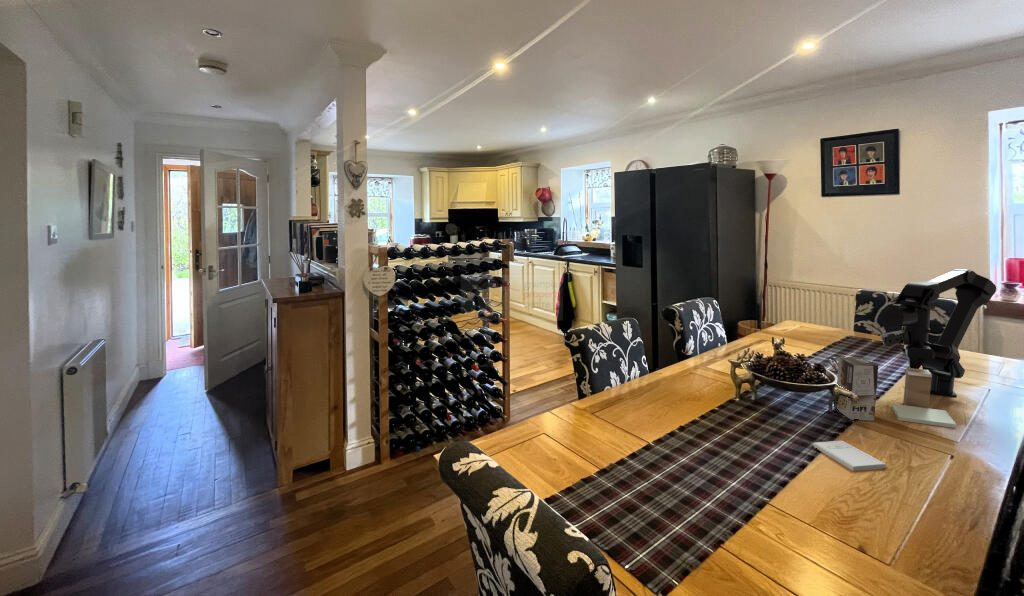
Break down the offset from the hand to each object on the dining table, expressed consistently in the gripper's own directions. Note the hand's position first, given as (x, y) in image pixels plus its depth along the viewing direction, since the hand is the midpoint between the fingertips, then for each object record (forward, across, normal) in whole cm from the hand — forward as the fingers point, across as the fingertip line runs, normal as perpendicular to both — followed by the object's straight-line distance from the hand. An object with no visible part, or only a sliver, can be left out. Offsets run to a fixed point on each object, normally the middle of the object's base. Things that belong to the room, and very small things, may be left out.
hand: (912, 373), depth 146 cm
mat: (+8, +17, 0) cm, 19 cm away
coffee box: (+8, +23, -16) cm, 29 cm away
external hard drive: (+9, +54, -20) cm, 58 cm away
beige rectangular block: (+8, +8, 0) cm, 11 cm away
